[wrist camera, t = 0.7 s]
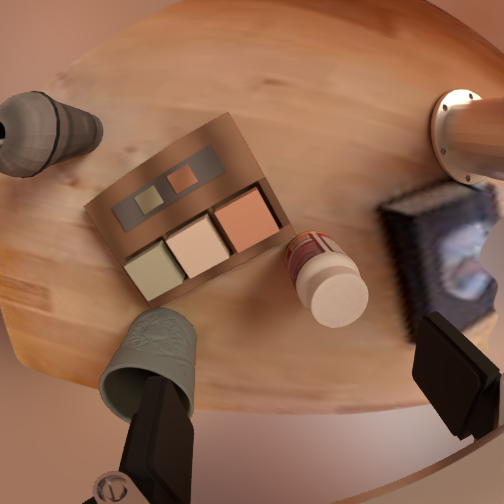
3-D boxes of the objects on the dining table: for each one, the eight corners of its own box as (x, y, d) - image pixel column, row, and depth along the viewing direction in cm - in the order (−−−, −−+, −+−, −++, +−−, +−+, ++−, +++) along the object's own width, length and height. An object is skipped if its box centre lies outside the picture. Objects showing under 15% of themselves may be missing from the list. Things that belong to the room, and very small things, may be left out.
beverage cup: (124, 115, 29) (1, 95, 10) (98, 174, 31) (-29, 218, 12) (76, 94, 27) (-53, 73, 9) (52, 151, 29) (-78, 176, 11)
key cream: (207, 213, 30) (205, 218, 29) (229, 251, 32) (229, 257, 30) (169, 235, 31) (165, 241, 29) (193, 270, 32) (190, 278, 31)
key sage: (162, 240, 31) (157, 246, 29) (185, 275, 33) (182, 283, 31) (129, 260, 32) (123, 267, 30) (152, 293, 33) (148, 301, 31)
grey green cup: (166, 288, 36) (140, 348, 24) (220, 344, 39) (215, 413, 27) (114, 327, 37) (80, 387, 26) (165, 376, 40) (149, 441, 29)
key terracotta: (255, 186, 30) (257, 189, 28) (277, 225, 31) (279, 230, 29) (215, 208, 30) (214, 213, 28) (238, 246, 32) (238, 253, 30)
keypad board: (229, 114, 30) (228, 111, 27) (291, 227, 34) (296, 235, 31) (93, 201, 32) (81, 207, 29) (157, 299, 36) (151, 312, 33)
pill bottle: (283, 280, 36) (300, 336, 25) (285, 229, 34) (306, 269, 23) (333, 279, 36) (367, 331, 26) (338, 229, 34) (379, 267, 24)
